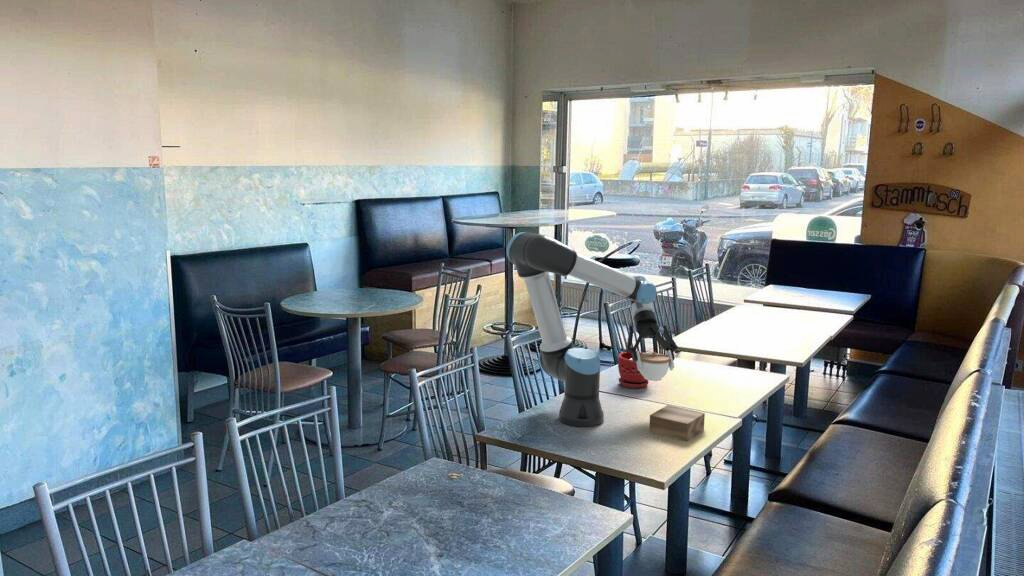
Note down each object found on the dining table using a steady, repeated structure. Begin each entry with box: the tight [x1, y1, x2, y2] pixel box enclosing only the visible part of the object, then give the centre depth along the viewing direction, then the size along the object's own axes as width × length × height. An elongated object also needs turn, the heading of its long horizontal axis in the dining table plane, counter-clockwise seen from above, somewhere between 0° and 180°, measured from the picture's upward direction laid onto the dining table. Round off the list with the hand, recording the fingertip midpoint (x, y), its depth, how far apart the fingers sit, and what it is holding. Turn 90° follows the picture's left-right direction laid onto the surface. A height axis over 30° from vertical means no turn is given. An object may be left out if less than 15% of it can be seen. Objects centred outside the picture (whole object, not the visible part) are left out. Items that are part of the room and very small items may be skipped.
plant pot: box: [617, 351, 650, 389], centre depth 285 cm, size 13×13×12 cm
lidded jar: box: [640, 351, 670, 382], centre depth 251 cm, size 11×11×9 cm
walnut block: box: [648, 404, 706, 442], centre depth 236 cm, size 13×13×6 cm
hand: (656, 368), depth 248 cm, fingers closed on lidded jar, 11 cm apart
